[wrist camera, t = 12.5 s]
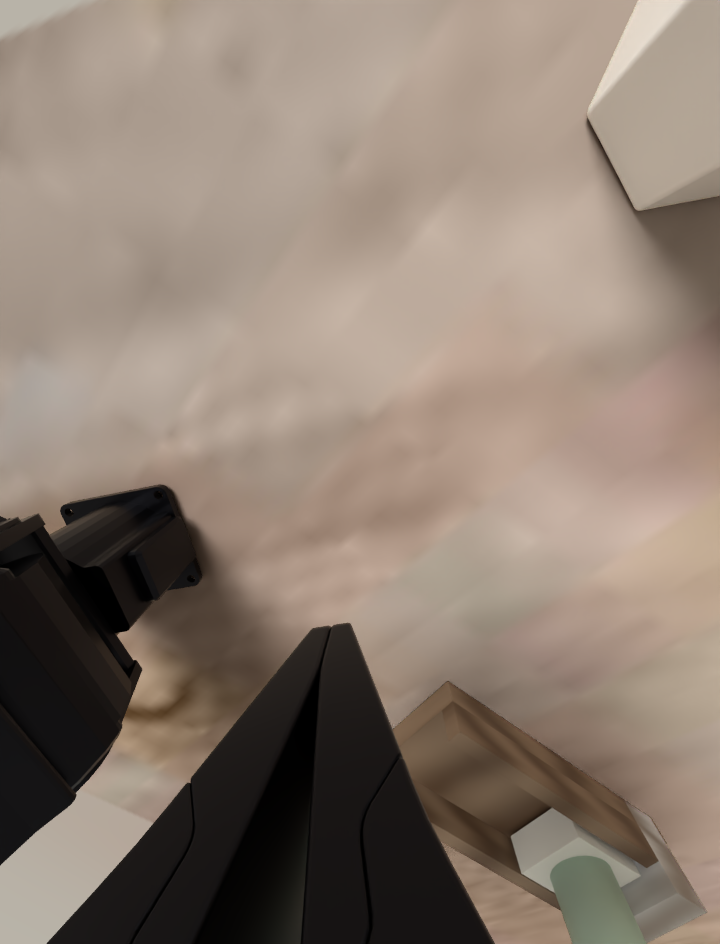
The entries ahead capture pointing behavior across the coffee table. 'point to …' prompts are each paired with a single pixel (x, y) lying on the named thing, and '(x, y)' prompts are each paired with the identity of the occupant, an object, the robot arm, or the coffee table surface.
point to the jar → (664, 103)
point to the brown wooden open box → (529, 803)
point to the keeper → (580, 878)
